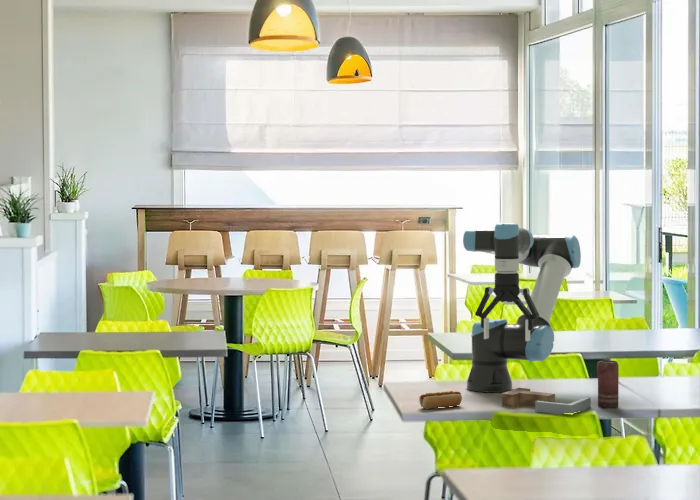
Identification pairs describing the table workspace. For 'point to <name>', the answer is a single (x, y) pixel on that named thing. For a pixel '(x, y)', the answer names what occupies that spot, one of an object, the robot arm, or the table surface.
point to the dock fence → (563, 406)
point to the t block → (525, 397)
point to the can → (608, 383)
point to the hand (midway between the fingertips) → (506, 339)
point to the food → (440, 399)
